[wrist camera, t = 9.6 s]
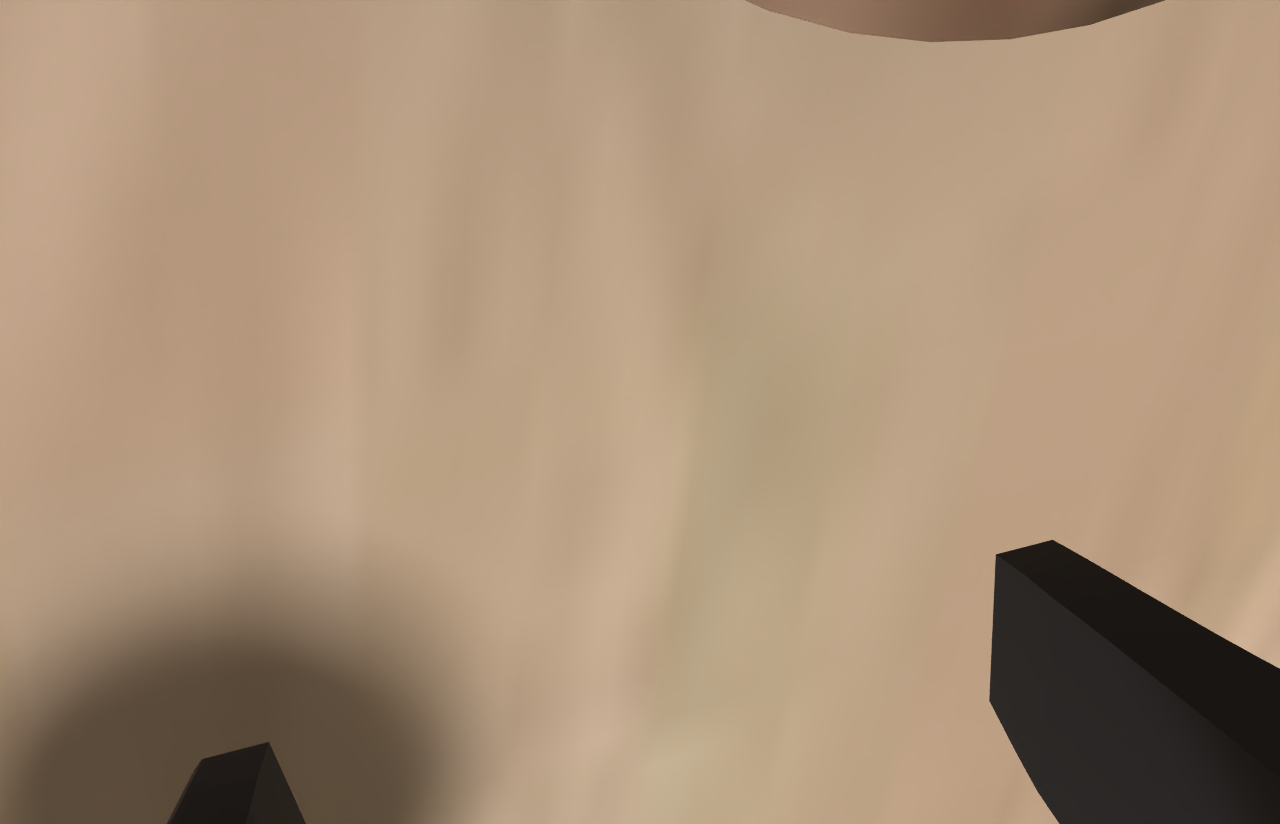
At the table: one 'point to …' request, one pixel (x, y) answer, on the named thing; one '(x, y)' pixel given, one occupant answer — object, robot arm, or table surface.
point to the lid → (952, 16)
